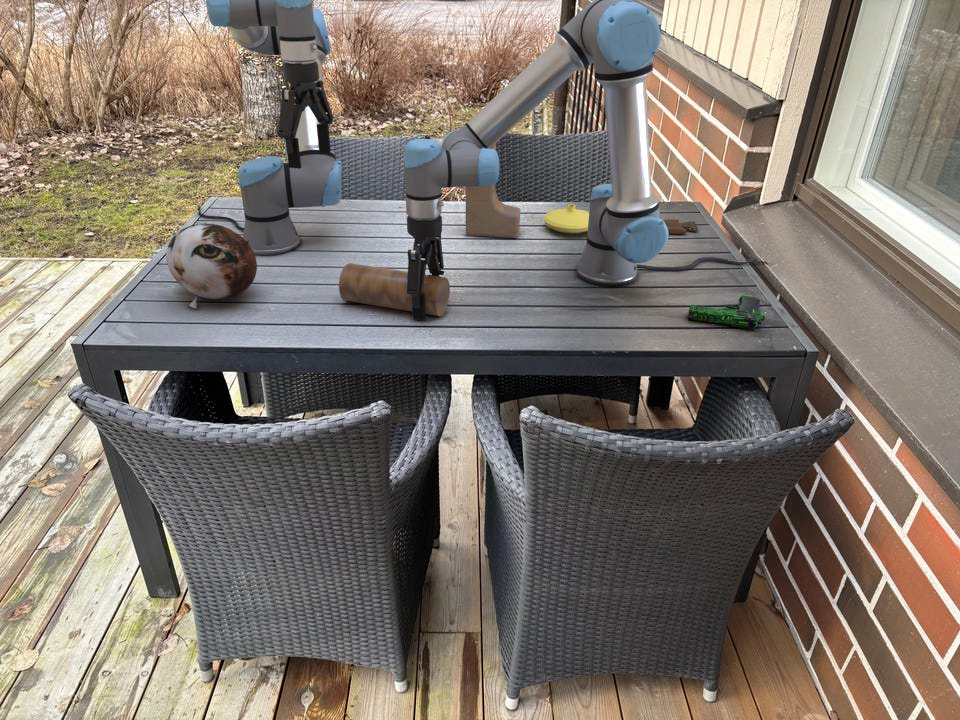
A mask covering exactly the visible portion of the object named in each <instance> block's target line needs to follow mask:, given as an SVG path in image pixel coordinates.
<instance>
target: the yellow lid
mask: <svg viewBox="0 0 960 720" xmlns="http://www.w3.org/2000/svg"><path fill="white" fill-rule="evenodd" d="M588 221H589V211H587V210H584V209H578V208H576V205H575V204H571V203H570V204H567V208H557V209H552V210H549V211H548V212H547V213H545V214H544V216H543V222H544V225H545V226H546V227H548V228H550V229H551V230H554V231H556V232H559V233H564V234H580V233H584V232H585V233H586V232H588Z"/></svg>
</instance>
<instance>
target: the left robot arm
mask: <svg viewBox="0 0 960 720" xmlns="http://www.w3.org/2000/svg"><path fill="white" fill-rule="evenodd" d="M205 6H206V11H207V16H208V20H209V23H210V24H211V26H213V27H222V28H228V29H229V33H230V34H231V37H232V39H233V40H234V41H235V42H236V44H238V45H239V46H241V47H242V48H244V49H246V50H248V51H251V52H254V53H257V54H260V55H265V56H280V58H281V60H282V62H283V63H282V71H283V79H284V81H285V82H288V83H289V89H284V88H282V89H281V93H280V94H281V104H280V106H281V107H280V111H279V112H280V113H279V120H278V127H277V128H278V129H277V136H278V137H279V138H280V139H284V142H285V149H286V155H287V162H284V160H283V158H282V157H281V156H273V155H269V156H261V157H257V158H253V159H250V160H247V161H246V162H243V163H242V164H241V165H240V166H239V168H238V170H237V174H238V186H239V189H240V194H241V195H240V196H241V201H242V207H243V212H244V213H243V215H244V219H245V220H244V226H243V227H242V226H240V225H239V224H238V222H237V221H236V220H235V219H233V218H231V217H228V216H221V215H220V216H219V215H208V214H203V213H202V212H201V209H202V208H201V206H199V205H198V207H197V213H198V215H199V216H200V217H201V218H205V219H206V218H207V219H215V220H226V221H230V222H232V223H233V224H234V225H235V227H236V228H237V229H238V230H241V231H243V235H242V237H243V238H244V239H245V240H246V241H249V242H248V244H249V245H250V247H251V248H252V250H253V252H254V254H255V256H256V255H257V256H275V255H281V254H282V255H283V254H285V253H289V252H291V251H293V250H296V249H297V248H298V247H299V246H300V244H301V241H300V235H299V233H298V231H297V229H296V227H295V225H294V223H293V220H292V218H291V216H290V209H298V208H299V209H300V208H316V207H322V208H325V207H328V206H329V207H330V206H336V205H338V204H339V203H340V202H341V201H342V200H341V198H342V180H343V179H342V178H343V177H342V175H343V162H342V161H341V160H339V159H337V157H336V153H335V152H333V150H332V149H331V139H330V138H331V137H330V129H329V128H330V127H329V125H333V122H334V121H333V119H334V115H333V111H332V109H331V105H330V103H329V100H328V97H327V95H326V92H325V87H324V82H323V73H322V66H323V65H324V64H325V63H326V61H327V56H329V55H330V54H331V45H330V44H331V43H330V38H329V31H328V27H327V23H326V19H325V15H324V13H323V12H322V11H321V9H319V8H316V7H315V8H314V5H313V0H205ZM199 210H200V211H199ZM198 211H199V212H198Z"/></svg>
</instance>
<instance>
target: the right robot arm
mask: <svg viewBox="0 0 960 720" xmlns="http://www.w3.org/2000/svg"><path fill="white" fill-rule="evenodd" d="M660 43H661V28H660V24H659V22H658V19H657V18H656V16H655V14H654V13H653V12H652V11H651V10H650V9H648V8H647V7H646V6H644V5H643V4H641V3H639V2H637V1H635V0H594V1H591V2H590V3H589V4H587V5H586V6H584V7H583V8H582V9H581V10H580V11H579V12H578V13H576V15H574V16H573V17H572V18H571V19H570V20H569V21H568V22H567V23H566V24H565V25H564V26H562V28H560V29H559V30H558V31H557V32H556V33H555V35H554V41H553V43H551V44H550V45H549V46H548V47H547V48H546V49H545V50H544V51H543V52H542V53H541V54H540V55H538V56H537V57H536V58H535V59H534V60H533V61H532V62H531V63H530V64H529V65H528V66H527V67H526V68H524V69H523V70H522V71H521V72H520V73H519V74H518V75H517V76H516V77H515V78H514V79H513V80H511V81H510V82H509V83H508V84H507V85H506V86H505V87H504V88H503V89H502V90H501V91H500V92H498V93H497V94H496V95H495V96H494V97H493V98H492V99H491V100H490V101H489V102H487V104H486V105H485V106H484V107H482V108H481V109H480V110H479V111H478V112H476V114H475V115H474V116H473V117H472V118H470V120H468V121H467V122H466V123H465V124H464V125H463V126H461V127H460V128H459V129H455V130H451V131H449V132H448V133H446V134H445V136H444V137H443V138H442V140H441V141H442V142H440V141H438V140H436V139H432V138H416V139H412V140H409V141H408V142H406V144H405V145H404V162H403V166H404V182H405V186H404V187H405V213H406V215H407V216H406V232H407V233H408V235H409V236H411V237H412V238H413V244H412V249H407V272H408V278H407V294H409V295H412V320H417V321H423V322H424V321H425V320H426V314H425V296H424V293H422V292H423V285H424V278H425V274H426V271H427V270H426V269H427V268H428V272H429V275H432V276H439V277H441V276H444V275H445V270H444V269H445V264H444V255H443V245H442V233H443V216H442V211H443V208H442V207H444V205H445V203H444V202H443V201H442V195H443V193H442V189H443V188H466V187H472V186H479V187H482V186H488V185H494V184H495V185H496V184H497V183H498V181H499V177H500V159H499V154H498V152H497V149H496V150H494V149H490V148H491V147H492V146H493V145H494V144H495V143H496V144H497V142H499V140H501V139H503V137H504V136H505V135H507V134H508V133H509V132H510V131H511V130H512V129H513V128H514V127H516V126H517V125H518V124H519V123H520V122H521V121H522V120H523V119H524V118H525V117H527V116H528V115H529V114H530V113H531V112H532V111H533V110H535V108H537V107H538V106H539V105H540V104H541V103H542V102H543V101H544V100H546V99H547V98H548V97H549V96H550V95H551V94H552V93H554V91H556V90H557V89H558V88H559V87H560V86H561V85H563V83H565V81H567V80H568V79H569V78H570V77H571V76H572V75H574V74H575V72H584V71H585V70H587V68H589V66H591V65H592V64H593V72H594V80H595V82H597V83H599V84H600V85H601V86H602V89H603V100H604V101H603V102H604V112H605V124H606V136H607V147H608V159H609V170H610V171H609V172H610V183H603V184H602V183H601V184H598V185H595V186H594V187H593V188H592V190H591V193H590V198H589V210H588V212H589V221H588V231H586V232H587V234H586V243H585V247H584V248H583V250H582V253H581V255H580V258H579V260H578V262H577V265H576V274H577V276H578V277H579V278H580V279H581V280H583V281H585V282H588V283H590V284H594V285H598V286H606V287H618V286H624V285H628V284H631V283H633V282H634V281H635V280H636V279H637V277H638V269H642V270H650V271H662V272H663V271H664V272H665V271H666V272H673V271H674V272H675V271H684V270H689V269H692V268H694V267H695V266H696V265H697V264H699V263H700V262H707V261H709V262H710V261H712V262H719V263H725V264H731V265H746V264H750V263H754V262H758V261H757V258H756V257H752V258H750V259H744V260H745V261H746V262H735V261H732V260H733V259H728V258H722V257H715V256H703V257H700V258H696V259H695V260H694V261H693V262H692V263H690V264H687V265H682V266H655V265H654V266H653V265H645V264H644V263H646V262H649V261H652V260H653V259H655V258H656V257H658V256H659V255H660V253H661V251H664V249H665V247H666V246H667V243H668V240H669V233H668V229H667V226H666V224H665V222H664V221H663V220H662V218H661V207H660V206H661V204H660V197H659V195H658V194H657V193H655V192H654V191H653V190H652V189H653V188H652V172H651V152H650V150H651V149H650V136H649V135H650V132H649V116H648V115H649V114H648V113H649V112H648V96H647V79H648V78H649V77H650V75H651V74H652V73H653V72H654V63H653V62H654V60H653V57H654V56H655V55H656V54H657V52H658V51H659V46H660ZM728 260H731V261H728Z"/></svg>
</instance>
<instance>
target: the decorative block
mask: <svg viewBox="0 0 960 720" xmlns="http://www.w3.org/2000/svg"><path fill="white" fill-rule="evenodd" d="M490 149H494V150H496V151H497V142H496V143H495V144H494V145H493V146H492V147H491V148H490ZM520 224H521V208H520V207H517V206H513V205H507V204H505V203H504V202H502V201H501V200H500V199H499V196H498V194H497V191H496V184H494V185H488V186H482V187H479V186H472V187H465V235H466V236H471V237H472V236H474V237H490V238H491V237H492V238H503V239H504V238H506V239H517V238H518V236H519V232H520V227H521V225H520Z"/></svg>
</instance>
